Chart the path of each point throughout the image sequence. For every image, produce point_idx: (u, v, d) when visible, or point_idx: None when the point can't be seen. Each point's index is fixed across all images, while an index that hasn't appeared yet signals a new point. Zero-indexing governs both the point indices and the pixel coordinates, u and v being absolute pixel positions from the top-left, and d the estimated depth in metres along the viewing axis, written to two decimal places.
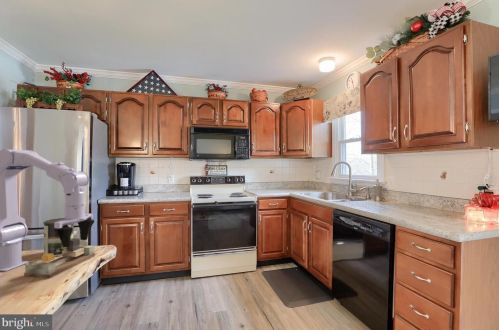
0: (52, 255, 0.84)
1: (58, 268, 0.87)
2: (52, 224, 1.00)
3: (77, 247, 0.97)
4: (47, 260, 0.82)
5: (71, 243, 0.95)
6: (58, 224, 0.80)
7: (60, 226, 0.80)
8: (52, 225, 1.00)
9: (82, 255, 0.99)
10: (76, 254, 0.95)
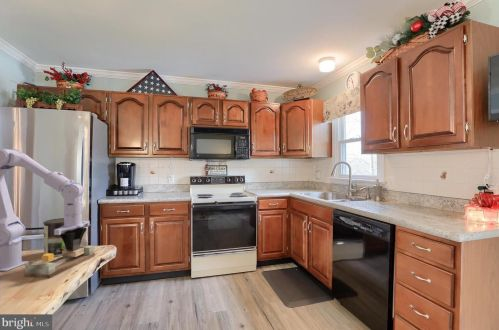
0: (52, 255, 0.84)
1: (58, 268, 0.87)
2: (52, 224, 1.00)
3: (77, 247, 0.97)
4: (47, 260, 0.82)
5: None
6: (57, 231, 0.90)
7: (59, 233, 0.90)
8: (52, 225, 1.00)
9: (82, 255, 0.99)
10: (76, 254, 0.95)
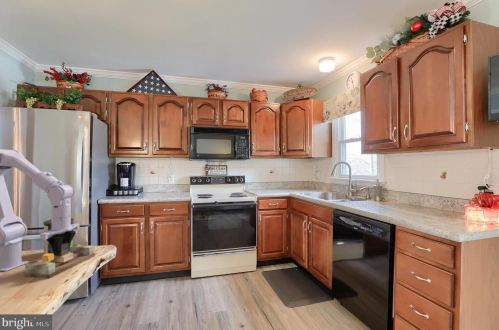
0: (52, 255, 0.84)
1: (58, 268, 0.87)
2: None
3: (66, 252, 0.92)
4: (47, 260, 0.82)
5: None
6: (44, 235, 0.84)
7: (46, 237, 0.85)
8: None
9: (82, 255, 0.99)
10: (64, 259, 0.90)
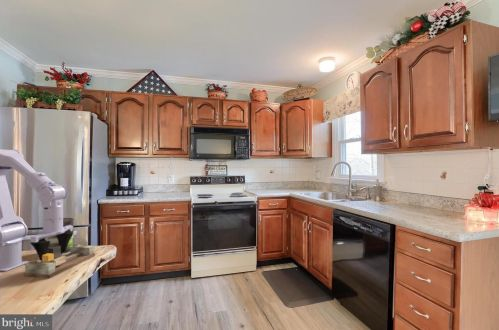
0: (52, 255, 0.84)
1: (58, 268, 0.87)
2: None
3: (58, 255, 0.89)
4: (47, 260, 0.82)
5: (51, 251, 0.87)
6: (34, 238, 0.81)
7: (36, 240, 0.81)
8: None
9: (82, 255, 0.99)
10: (56, 263, 0.87)
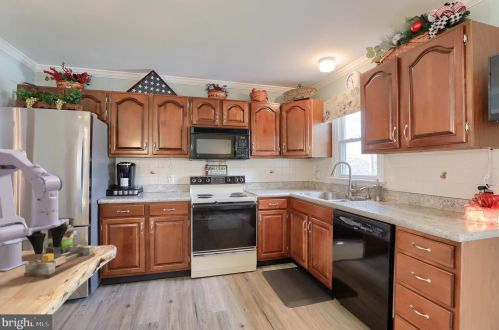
0: (52, 255, 0.84)
1: (58, 268, 0.87)
2: None
3: (58, 255, 0.89)
4: (47, 260, 0.82)
5: (51, 251, 0.87)
6: (27, 231, 0.76)
7: (29, 233, 0.76)
8: None
9: (82, 255, 0.99)
10: (56, 263, 0.87)
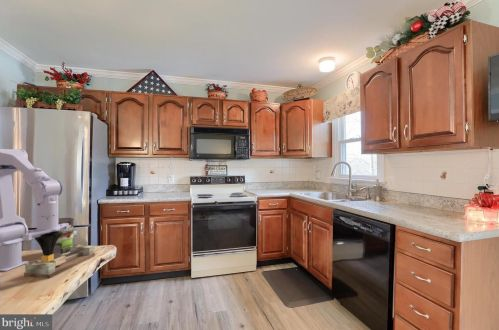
0: (52, 255, 0.84)
1: (58, 268, 0.87)
2: None
3: (58, 255, 0.89)
4: (47, 260, 0.82)
5: None
6: (27, 236, 0.76)
7: (29, 238, 0.76)
8: None
9: (82, 255, 0.99)
10: (56, 263, 0.87)
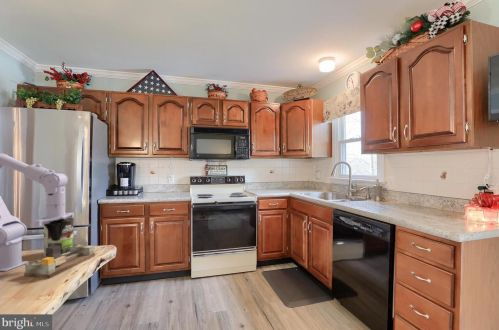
0: (52, 259, 0.84)
1: (58, 268, 0.87)
2: None
3: (58, 255, 0.89)
4: (47, 264, 0.82)
5: (51, 251, 0.87)
6: (38, 222, 0.85)
7: (40, 224, 0.86)
8: None
9: (82, 255, 0.99)
10: (56, 263, 0.87)
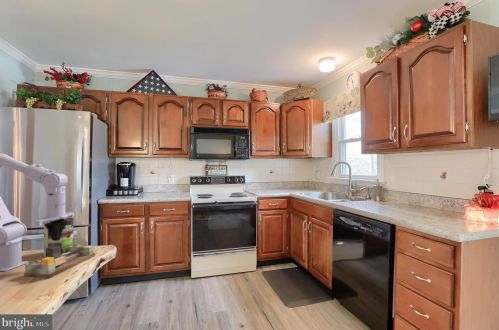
0: (52, 259, 0.84)
1: (58, 268, 0.87)
2: None
3: (58, 255, 0.89)
4: (47, 264, 0.82)
5: (51, 251, 0.87)
6: (38, 222, 0.85)
7: (40, 224, 0.86)
8: None
9: (82, 255, 0.99)
10: (56, 263, 0.87)
